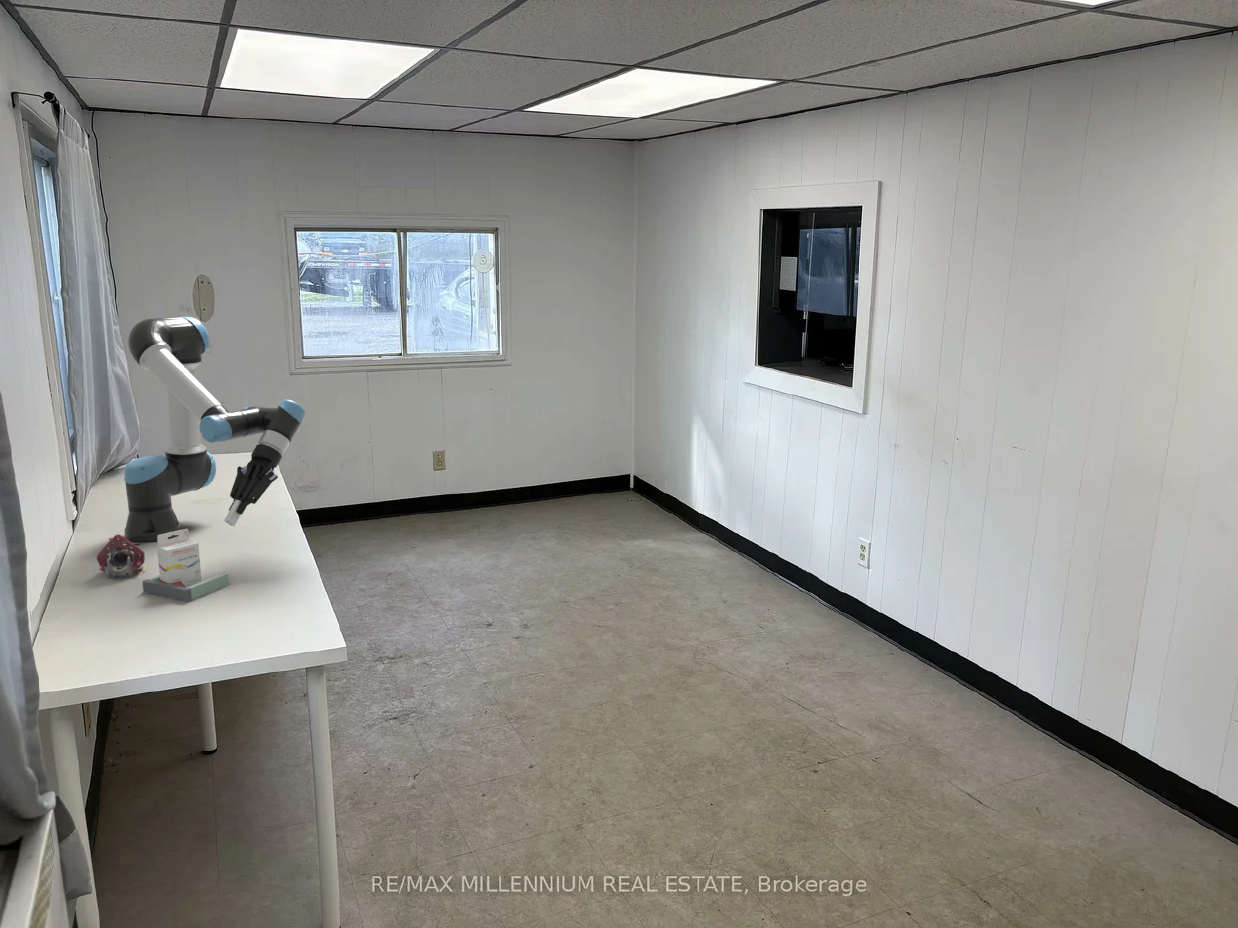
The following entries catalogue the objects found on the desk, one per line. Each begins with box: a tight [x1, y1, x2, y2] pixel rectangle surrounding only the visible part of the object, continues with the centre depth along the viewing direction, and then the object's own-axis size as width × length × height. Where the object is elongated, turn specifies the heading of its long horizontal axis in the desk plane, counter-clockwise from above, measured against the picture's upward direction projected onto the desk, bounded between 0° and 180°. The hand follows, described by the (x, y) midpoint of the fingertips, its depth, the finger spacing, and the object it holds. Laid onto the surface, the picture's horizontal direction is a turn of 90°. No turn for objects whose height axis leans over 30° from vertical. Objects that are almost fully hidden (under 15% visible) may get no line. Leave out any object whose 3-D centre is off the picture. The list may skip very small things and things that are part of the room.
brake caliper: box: [96, 533, 147, 580], centre depth 242 cm, size 11×11×12 cm
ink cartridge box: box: [156, 528, 203, 588], centre depth 231 cm, size 9×5×15 cm, turn 143°
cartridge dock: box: [142, 572, 230, 603], centre depth 232 cm, size 15×14×3 cm
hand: (229, 523), depth 243 cm, fingers closed
